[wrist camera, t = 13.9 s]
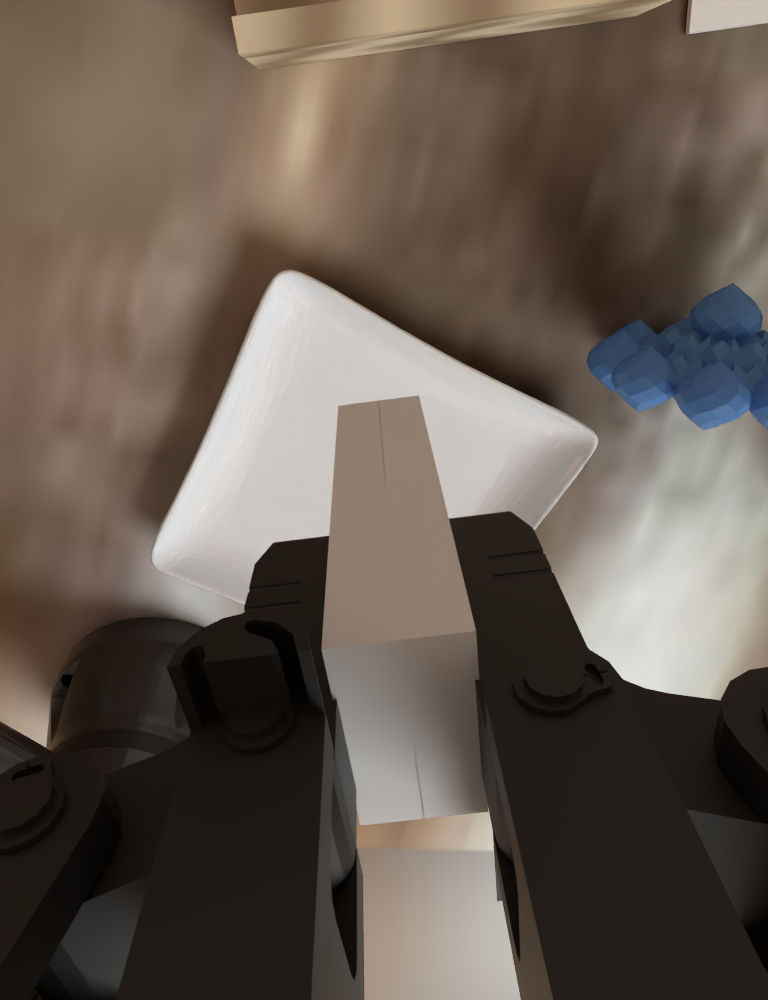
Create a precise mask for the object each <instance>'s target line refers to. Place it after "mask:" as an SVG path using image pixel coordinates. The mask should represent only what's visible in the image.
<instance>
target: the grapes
mask: <svg viewBox="0 0 768 1000" xmlns="http://www.w3.org/2000/svg"><path fill="white" fill-rule="evenodd" d="M762 319H763V317H762V313H761V311H760V309H759V308H758V306H757V305H756V303H755V302H754V300H753V299H751V298H750V297H749V296H748V295H747V294H746V293H744V292H743V291H742V290H741V289H740V288H739V287H737V286H736V285H735V284H734V283H733V284H731V285H728V286H726V287H724V288H722V289H720V290H718V291H716V292H714V293H712V294H710V295H708V296H706V297H705V298H704V299H703V300H701V301H700V302H699V303H698V304H697V305H696V306H695V307H694V308H693V309H692V310H691V312H690V316H689V317H687V318H685V319H683V320H681V321H679V322H676V323H674V324H672V325H670V326H668V327H666V328H665V329H664V330H663V331H662V332H661V333H659V334H656V333H655V332H654V331H653V330H652V329H651V328H650V327H649V326H647V325H646V324H645V323H644V322H642V321H641V320H640V319H639V320H637V321H635V322H633V323H631V324H629V325H627V326H625V327H623V328H621V329H619V330H617V331H616V332H615V333H614V334H613V335H611V336H609V337H607V338H606V339H604V340H602V341H600V342H599V343H598V344H597V345H596V346H594V347H593V348H592V349H591V351H590V352H589V354H588V358H587V361H586V362H587V364H588V366H589V369H590V371H591V372H592V373H593V375H594V376H595V377H596V378H597V379H598V380H599V381H600V382H601V383H602V384H604V385H605V386H606V387H607V388H609V389H610V390H611V391H616V392H617V393H618V394H619V395H620V396H621V397H622V398H623V399H624V400H625V401H626V402H627V403H628V404H629V405H630V406H632V407H633V408H634V409H636V410H637V411H638V412H640V411H643V410H646V409H650V408H652V407H654V406H657V405H659V404H661V403H664V402H665V401H667V400H668V399H669V398H670V397H674V398H675V400H676V402H677V404H678V406H679V408H680V409H681V411H682V412H683V413H684V414H685V415H686V416H687V417H688V418H689V419H690V420H691V421H692V422H694V423H695V424H696V425H697V426H699V427H700V428H701V429H703V430H706V429H710V428H714V427H717V426H720V425H722V424H725V423H727V422H730V421H732V420H734V419H737V418H739V417H740V416H741V415H742V414H743V413H745V412H746V411H747V410H748V409H749V410H750V412H751V413H752V415H753V417H754V418H755V419H756V420H758V421H759V422H760V423H761V424H762V425H763V426H764V427H765V428H766V429H768V333H767V332H766V331H765V330H764V331H762V330H761V329H760V328H761V325H762Z"/></svg>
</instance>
